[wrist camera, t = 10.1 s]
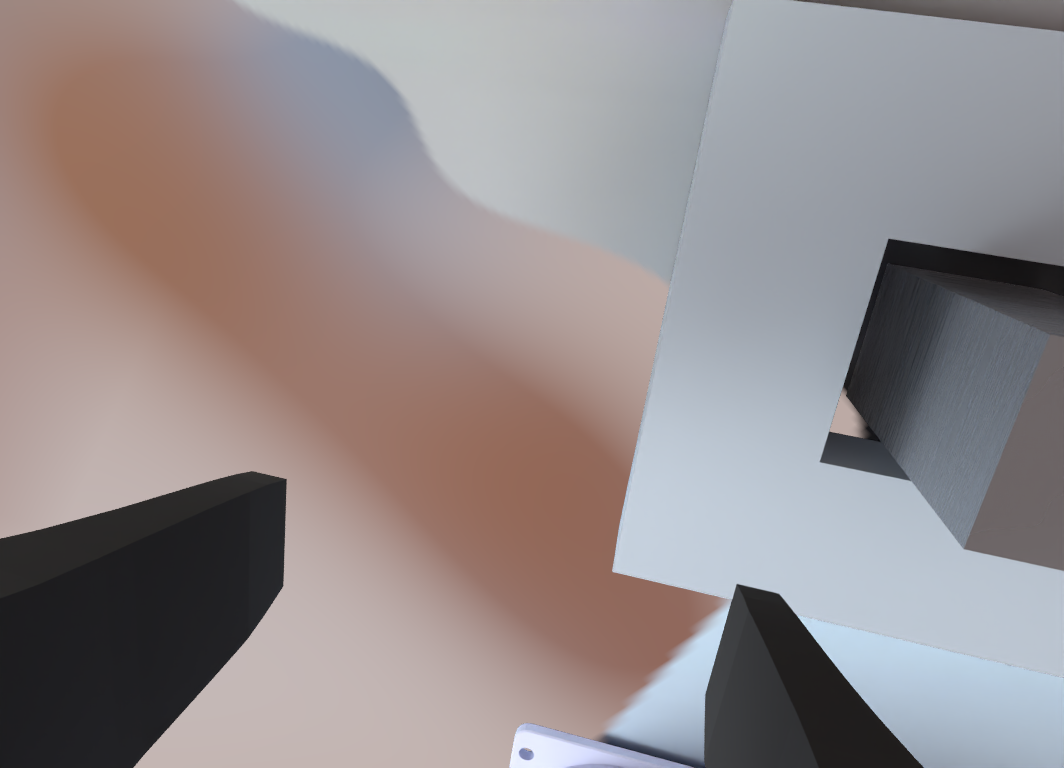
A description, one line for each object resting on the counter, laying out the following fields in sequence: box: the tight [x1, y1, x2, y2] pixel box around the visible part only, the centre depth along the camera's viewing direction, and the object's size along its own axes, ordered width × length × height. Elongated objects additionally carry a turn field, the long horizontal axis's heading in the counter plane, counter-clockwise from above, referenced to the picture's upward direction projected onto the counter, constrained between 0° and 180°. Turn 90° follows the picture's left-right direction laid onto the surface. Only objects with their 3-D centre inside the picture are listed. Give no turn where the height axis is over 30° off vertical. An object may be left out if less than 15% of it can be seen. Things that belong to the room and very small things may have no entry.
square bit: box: [846, 264, 1064, 571], centre depth 14 cm, size 4×4×8 cm
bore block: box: [613, 0, 1064, 678], centre depth 17 cm, size 14×14×2 cm
